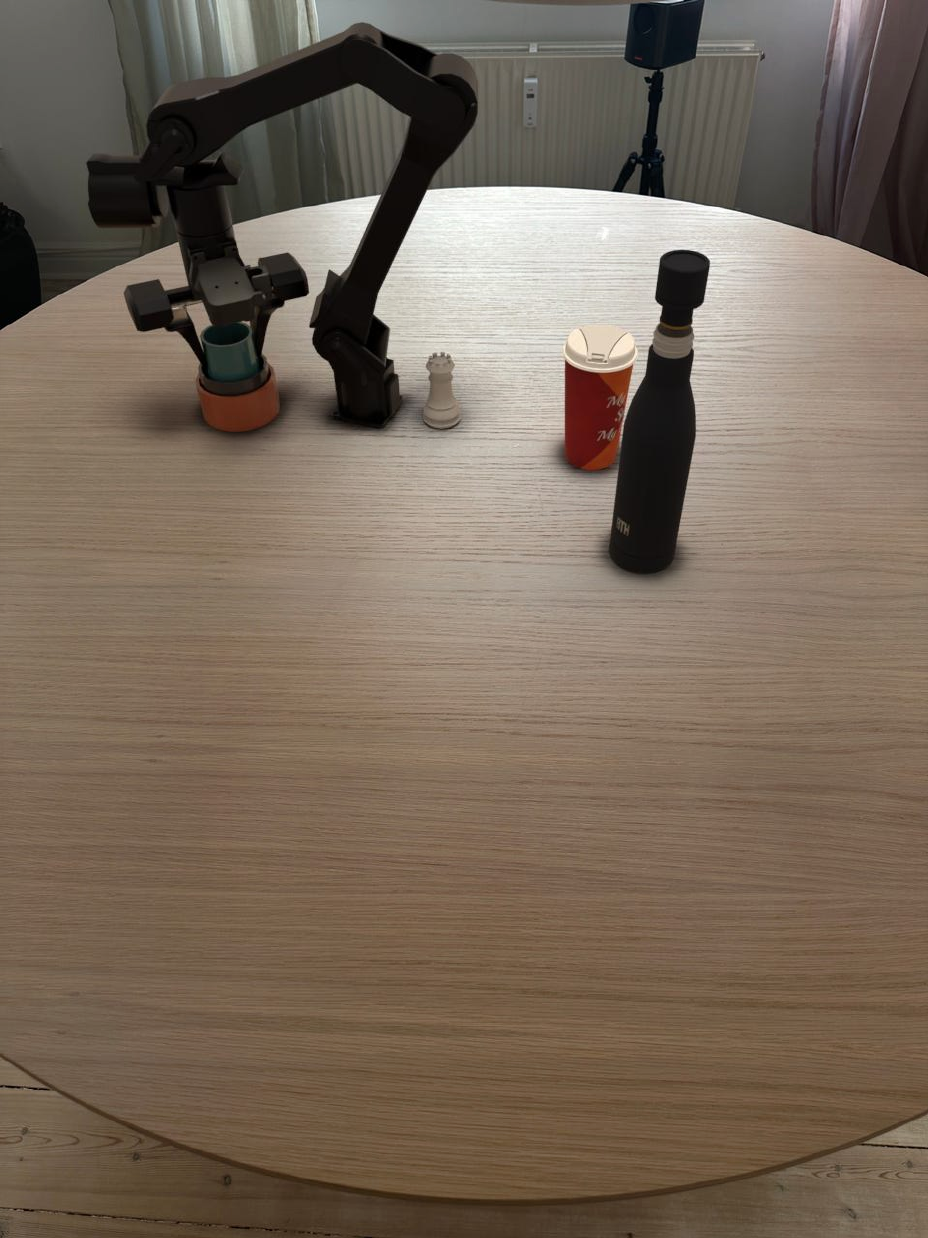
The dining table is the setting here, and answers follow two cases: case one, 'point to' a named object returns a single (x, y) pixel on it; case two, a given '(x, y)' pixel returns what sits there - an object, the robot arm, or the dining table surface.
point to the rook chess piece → (441, 393)
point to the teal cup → (230, 352)
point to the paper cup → (596, 393)
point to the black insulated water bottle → (660, 425)
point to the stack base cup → (241, 407)
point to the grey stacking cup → (236, 386)
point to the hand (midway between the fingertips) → (231, 361)
